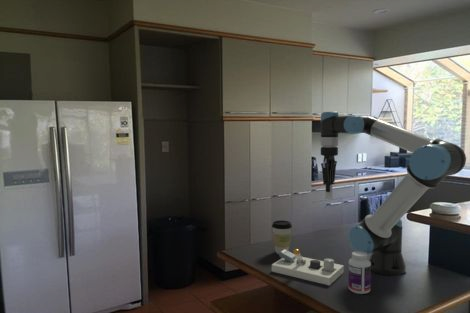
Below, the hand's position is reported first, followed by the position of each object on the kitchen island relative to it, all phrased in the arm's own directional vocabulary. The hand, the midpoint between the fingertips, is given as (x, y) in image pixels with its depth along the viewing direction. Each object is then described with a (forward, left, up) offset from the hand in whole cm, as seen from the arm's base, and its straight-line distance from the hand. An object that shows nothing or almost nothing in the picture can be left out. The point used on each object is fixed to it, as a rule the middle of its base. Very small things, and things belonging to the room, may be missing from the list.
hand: (328, 198), depth 172 cm
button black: (0, +16, -28) cm, 32 cm away
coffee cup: (+24, 0, -30) cm, 38 cm away
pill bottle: (-21, +22, -30) cm, 42 cm away
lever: (+6, +16, -26) cm, 31 cm away
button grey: (-6, +16, -26) cm, 32 cm away
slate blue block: (+13, +16, -24) cm, 32 cm away
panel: (+3, +16, -29) cm, 34 cm away
